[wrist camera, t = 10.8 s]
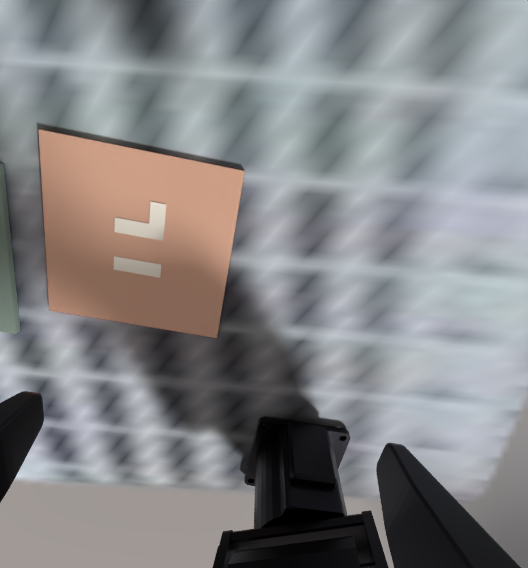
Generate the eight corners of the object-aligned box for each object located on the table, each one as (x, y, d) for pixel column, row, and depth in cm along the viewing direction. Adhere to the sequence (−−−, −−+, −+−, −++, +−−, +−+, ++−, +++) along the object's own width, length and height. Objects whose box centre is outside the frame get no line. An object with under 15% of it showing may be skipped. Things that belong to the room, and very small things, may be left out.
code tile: (217, 335, 22) (216, 338, 22) (52, 308, 21) (48, 310, 21) (244, 170, 18) (244, 171, 18) (42, 129, 17) (37, 129, 17)
